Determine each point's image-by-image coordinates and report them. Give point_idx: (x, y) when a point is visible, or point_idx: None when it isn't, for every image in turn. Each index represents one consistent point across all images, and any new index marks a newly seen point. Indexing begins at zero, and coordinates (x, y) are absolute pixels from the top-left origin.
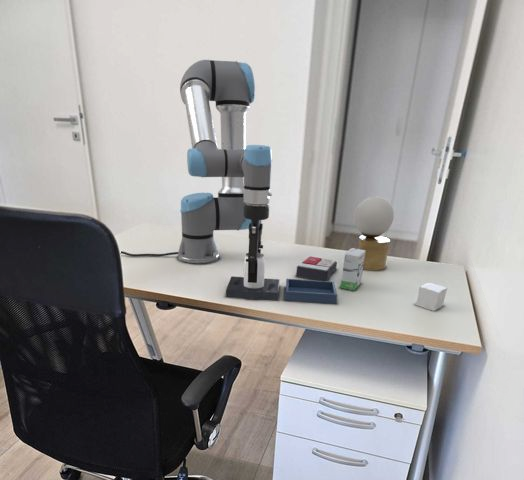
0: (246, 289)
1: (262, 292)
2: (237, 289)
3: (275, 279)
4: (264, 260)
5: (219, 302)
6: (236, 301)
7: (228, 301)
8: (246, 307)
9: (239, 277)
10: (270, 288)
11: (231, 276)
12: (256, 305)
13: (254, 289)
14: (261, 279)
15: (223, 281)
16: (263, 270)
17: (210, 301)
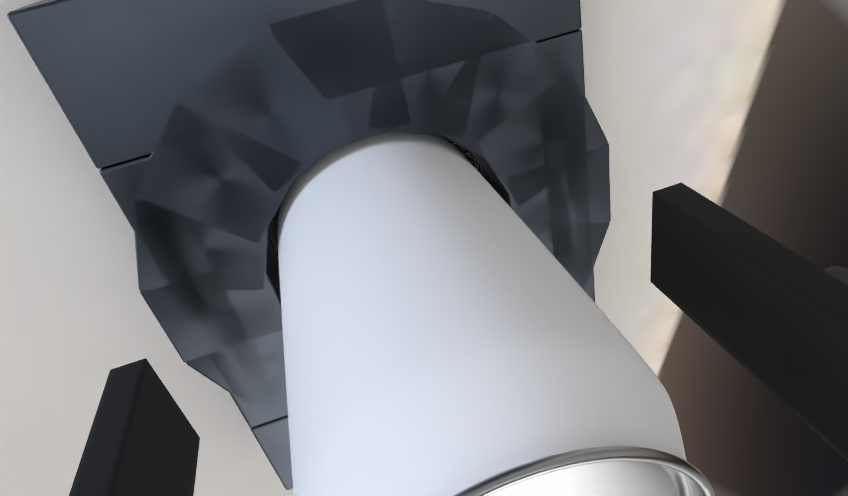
0: (562, 252)
1: (581, 82)
2: None
3: (63, 77)
4: (513, 360)
5: (662, 324)
6: (628, 242)
7: (637, 287)
8: (729, 128)
9: (277, 434)
10: (455, 28)
11: (289, 488)
12: (684, 65)
13: (541, 187)
14: (479, 191)
15: (271, 490)
16: (488, 242)
17: (654, 371)
